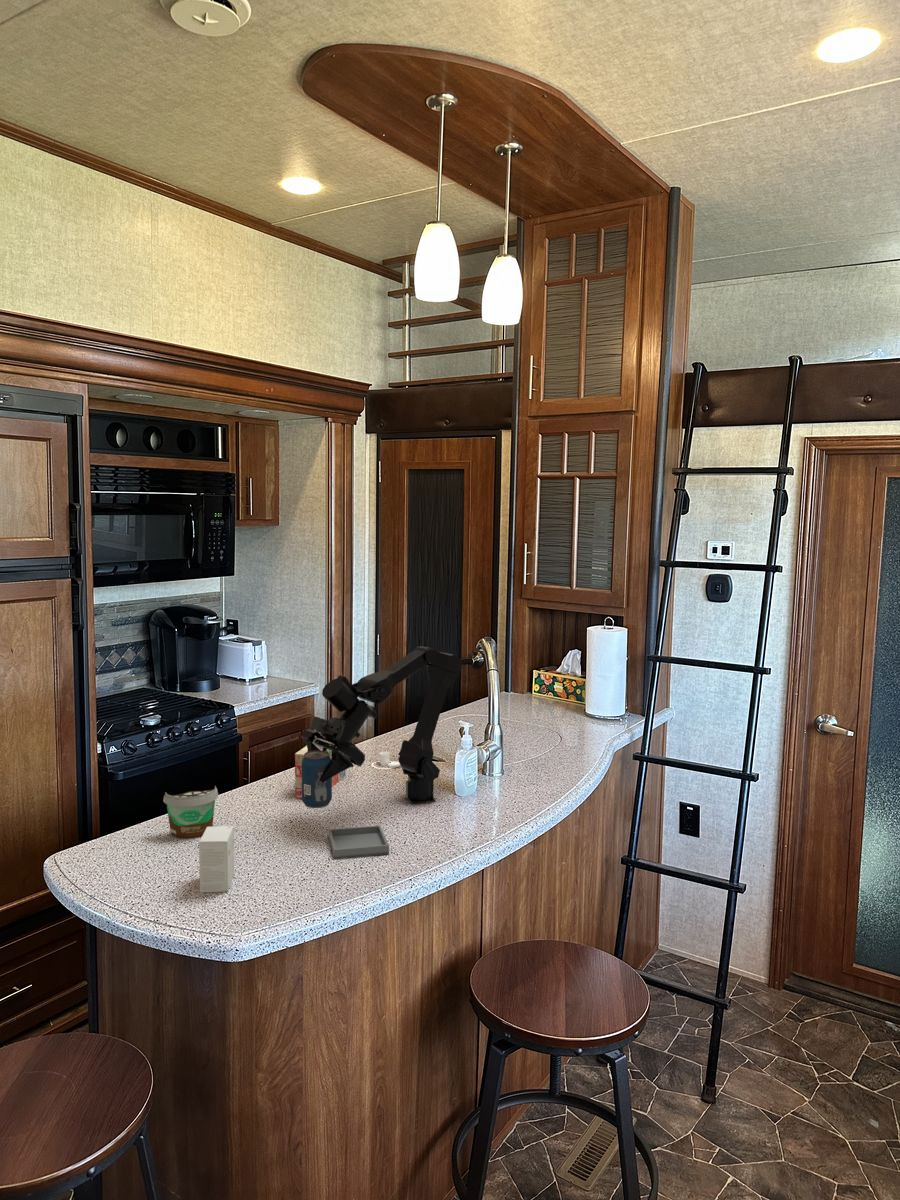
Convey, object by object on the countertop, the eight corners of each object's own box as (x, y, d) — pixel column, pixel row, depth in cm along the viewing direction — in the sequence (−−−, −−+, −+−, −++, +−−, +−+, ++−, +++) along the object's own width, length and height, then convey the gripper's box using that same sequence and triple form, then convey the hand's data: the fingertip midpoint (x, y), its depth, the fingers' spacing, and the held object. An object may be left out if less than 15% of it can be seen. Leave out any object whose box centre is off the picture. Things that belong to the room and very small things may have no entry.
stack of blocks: (325, 774, 238) (325, 731, 236) (345, 775, 236) (345, 733, 235) (294, 799, 217) (294, 752, 216) (317, 801, 215) (317, 754, 214)
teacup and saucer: (404, 768, 245) (404, 755, 244) (380, 773, 240) (380, 759, 240) (389, 761, 252) (389, 747, 251) (366, 765, 247) (366, 751, 247)
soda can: (315, 796, 199) (315, 747, 198) (338, 802, 195) (337, 752, 194) (295, 805, 193) (295, 755, 192) (318, 811, 189) (318, 760, 188)
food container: (168, 844, 186) (167, 801, 185) (163, 834, 192) (162, 792, 190) (224, 835, 192) (223, 793, 191) (218, 826, 197) (217, 785, 196)
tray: (380, 833, 194) (380, 825, 194) (389, 854, 182) (389, 845, 182) (328, 837, 191) (328, 829, 191) (334, 858, 180) (334, 850, 179)
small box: (207, 875, 171) (206, 825, 170) (235, 874, 171) (234, 825, 170) (199, 893, 163) (198, 841, 162) (228, 892, 163) (227, 840, 162)
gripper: (307, 696, 201) (268, 749, 195) (354, 710, 188) (314, 768, 181) (334, 722, 207) (297, 775, 201) (381, 737, 194) (343, 794, 188)
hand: (311, 777), depth 192 cm, fingers closed on soda can, 7 cm apart
